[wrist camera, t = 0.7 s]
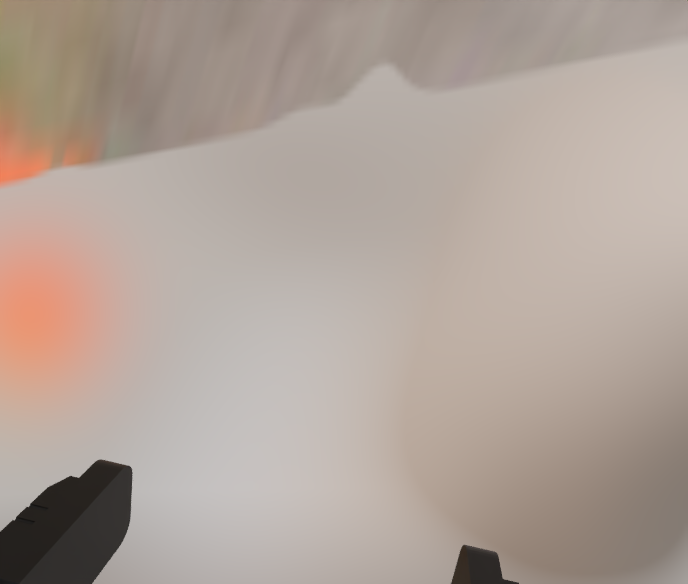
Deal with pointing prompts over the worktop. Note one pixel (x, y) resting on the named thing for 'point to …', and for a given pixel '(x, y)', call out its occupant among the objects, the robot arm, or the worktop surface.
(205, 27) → the worktop surface
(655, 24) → the worktop surface
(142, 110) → the worktop surface
